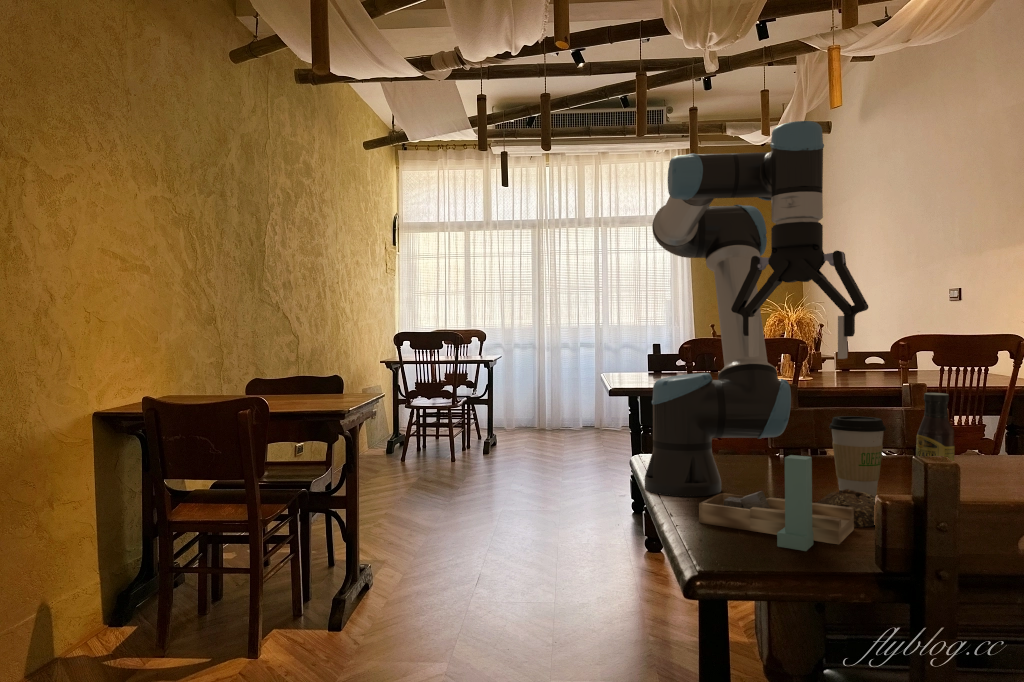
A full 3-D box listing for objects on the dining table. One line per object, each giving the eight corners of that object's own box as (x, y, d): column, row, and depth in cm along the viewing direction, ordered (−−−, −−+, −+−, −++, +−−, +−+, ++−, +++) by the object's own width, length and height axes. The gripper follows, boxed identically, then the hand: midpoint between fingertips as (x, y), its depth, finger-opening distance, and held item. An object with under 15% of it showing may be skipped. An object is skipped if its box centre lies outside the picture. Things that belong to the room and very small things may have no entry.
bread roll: (907, 521, 117) (907, 491, 117) (864, 532, 111) (864, 501, 111) (837, 506, 128) (836, 479, 128) (794, 516, 121) (793, 487, 121)
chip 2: (747, 516, 115) (740, 498, 115) (753, 513, 117) (746, 495, 118) (764, 511, 113) (756, 493, 114) (770, 508, 115) (762, 490, 116)
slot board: (853, 529, 111) (853, 507, 111) (838, 544, 103) (838, 520, 103) (721, 510, 124) (721, 491, 124) (699, 522, 116) (698, 501, 116)
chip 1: (741, 520, 115) (723, 517, 117) (747, 516, 118) (730, 514, 120) (741, 502, 115) (723, 499, 117) (747, 499, 118) (730, 496, 120)
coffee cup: (894, 503, 129) (893, 421, 129) (836, 501, 131) (836, 421, 131) (877, 492, 138) (877, 416, 138) (824, 490, 140) (823, 415, 140)
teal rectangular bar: (813, 544, 103) (812, 456, 103) (806, 551, 100) (805, 460, 100) (785, 540, 106) (784, 453, 106) (777, 546, 103) (776, 457, 103)
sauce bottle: (908, 494, 136) (907, 392, 136) (938, 493, 136) (937, 391, 136) (931, 502, 129) (930, 394, 129) (963, 501, 130) (962, 394, 130)
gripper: (711, 228, 116) (711, 356, 116) (879, 212, 100) (878, 360, 101) (728, 232, 121) (728, 354, 122) (889, 217, 106) (888, 358, 107)
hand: (796, 357), depth 111 cm, fingers open, 13 cm apart
